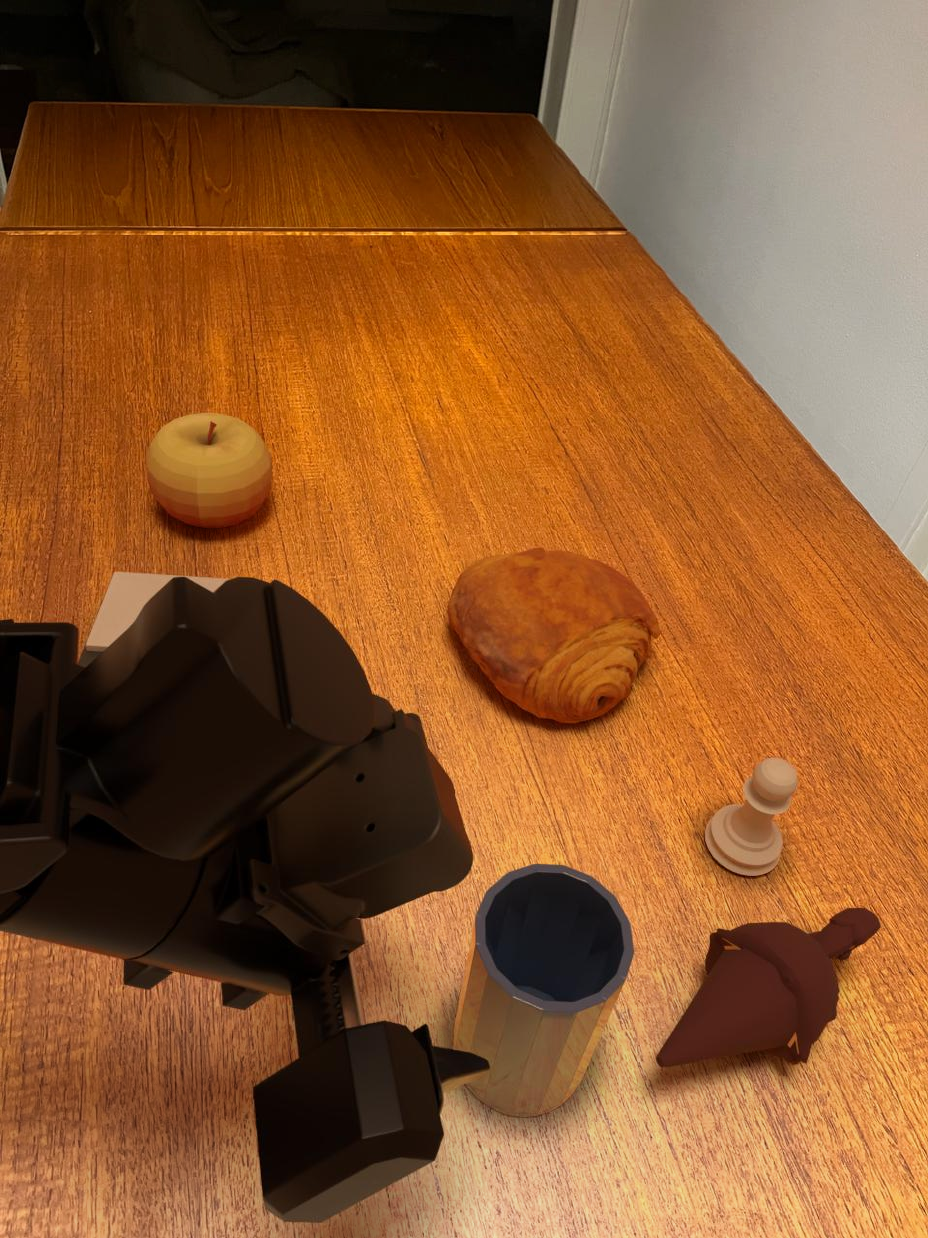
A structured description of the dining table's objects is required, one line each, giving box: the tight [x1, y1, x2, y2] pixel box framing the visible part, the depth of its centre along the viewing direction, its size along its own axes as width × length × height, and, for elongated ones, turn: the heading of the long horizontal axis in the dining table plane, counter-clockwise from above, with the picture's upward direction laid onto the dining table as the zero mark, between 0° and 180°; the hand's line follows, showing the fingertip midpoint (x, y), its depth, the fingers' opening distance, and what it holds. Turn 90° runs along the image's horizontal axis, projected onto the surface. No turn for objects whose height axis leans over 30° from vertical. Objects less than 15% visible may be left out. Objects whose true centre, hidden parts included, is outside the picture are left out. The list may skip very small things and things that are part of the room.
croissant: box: [446, 547, 661, 724], centre depth 69 cm, size 14×16×8 cm
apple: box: [145, 412, 274, 529], centre depth 77 cm, size 10×10×8 cm
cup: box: [452, 863, 635, 1118], centre depth 46 cm, size 7×7×12 cm
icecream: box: [655, 907, 882, 1069], centre depth 50 cm, size 7×7×15 cm
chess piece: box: [704, 757, 799, 877], centre depth 58 cm, size 5×5×8 cm
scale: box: [78, 571, 231, 668], centre depth 67 cm, size 9×9×3 cm
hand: (454, 963), depth 42 cm, fingers open, 9 cm apart
